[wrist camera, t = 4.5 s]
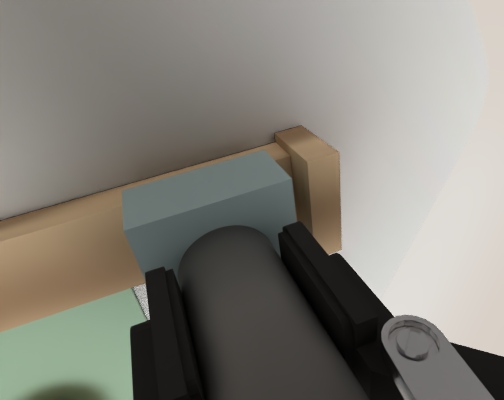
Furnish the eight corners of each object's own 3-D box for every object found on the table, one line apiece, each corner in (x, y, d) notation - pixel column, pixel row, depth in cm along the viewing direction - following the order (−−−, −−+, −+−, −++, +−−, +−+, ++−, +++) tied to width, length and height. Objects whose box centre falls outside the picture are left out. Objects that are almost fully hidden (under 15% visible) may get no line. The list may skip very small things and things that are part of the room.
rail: (-442, 333, 10) (-615, 440, 8) (301, 125, 15) (339, 152, 12) (-294, 412, 13) (-392, 513, 10) (308, 212, 17) (341, 249, 15)
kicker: (120, 172, 13) (134, 471, 5) (251, 136, 14) (442, 336, 6) (205, 384, 20) (265, 643, 12) (286, 351, 21) (392, 571, 13)
